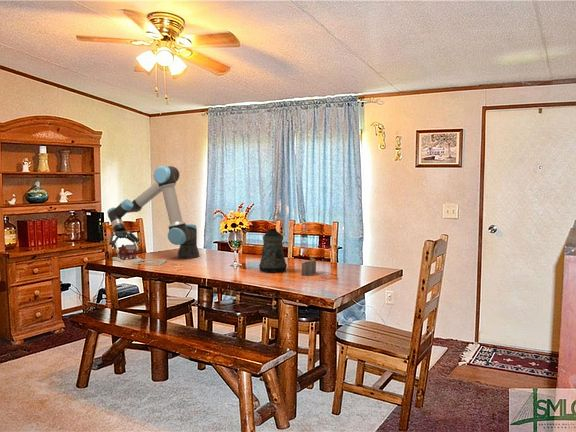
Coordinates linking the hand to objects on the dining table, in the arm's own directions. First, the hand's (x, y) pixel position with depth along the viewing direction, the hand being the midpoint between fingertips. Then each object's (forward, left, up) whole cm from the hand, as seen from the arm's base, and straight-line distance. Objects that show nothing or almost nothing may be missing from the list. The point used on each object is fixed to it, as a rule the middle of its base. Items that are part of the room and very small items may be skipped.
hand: (127, 251), depth 339 cm
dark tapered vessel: (-100, +27, -7) cm, 103 cm away
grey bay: (-19, +11, -6) cm, 22 cm away
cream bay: (+1, -1, -6) cm, 7 cm away
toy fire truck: (+1, -1, -6) cm, 7 cm away
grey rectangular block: (-123, +36, -7) cm, 128 cm away
